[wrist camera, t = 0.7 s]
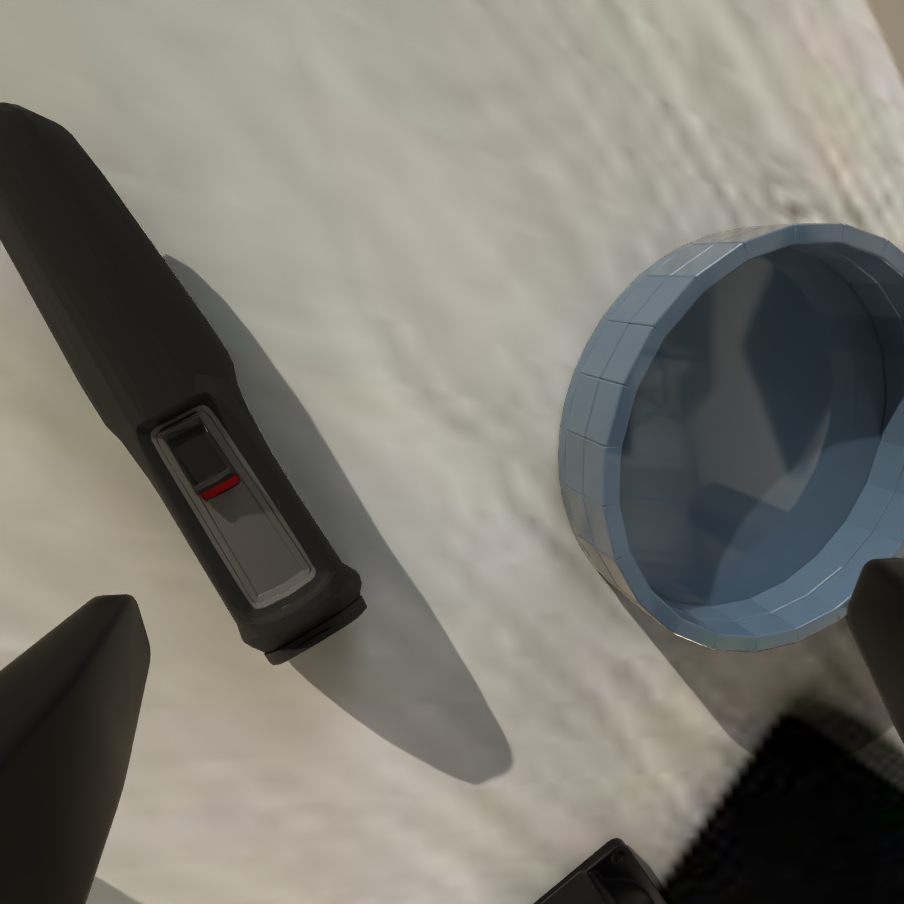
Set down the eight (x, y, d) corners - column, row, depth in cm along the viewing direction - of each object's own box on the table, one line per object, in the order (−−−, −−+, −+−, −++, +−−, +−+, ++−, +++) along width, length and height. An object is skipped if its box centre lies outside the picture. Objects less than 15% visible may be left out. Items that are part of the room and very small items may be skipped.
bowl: (922, 471, 29) (996, 491, 27) (659, 682, 27) (709, 728, 25) (819, 147, 24) (898, 131, 21) (483, 382, 22) (522, 398, 19)
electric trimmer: (95, 101, 17) (70, 65, 14) (372, 595, 23) (395, 642, 20) (-57, 163, 17) (-115, 138, 14) (265, 657, 22) (272, 715, 19)
